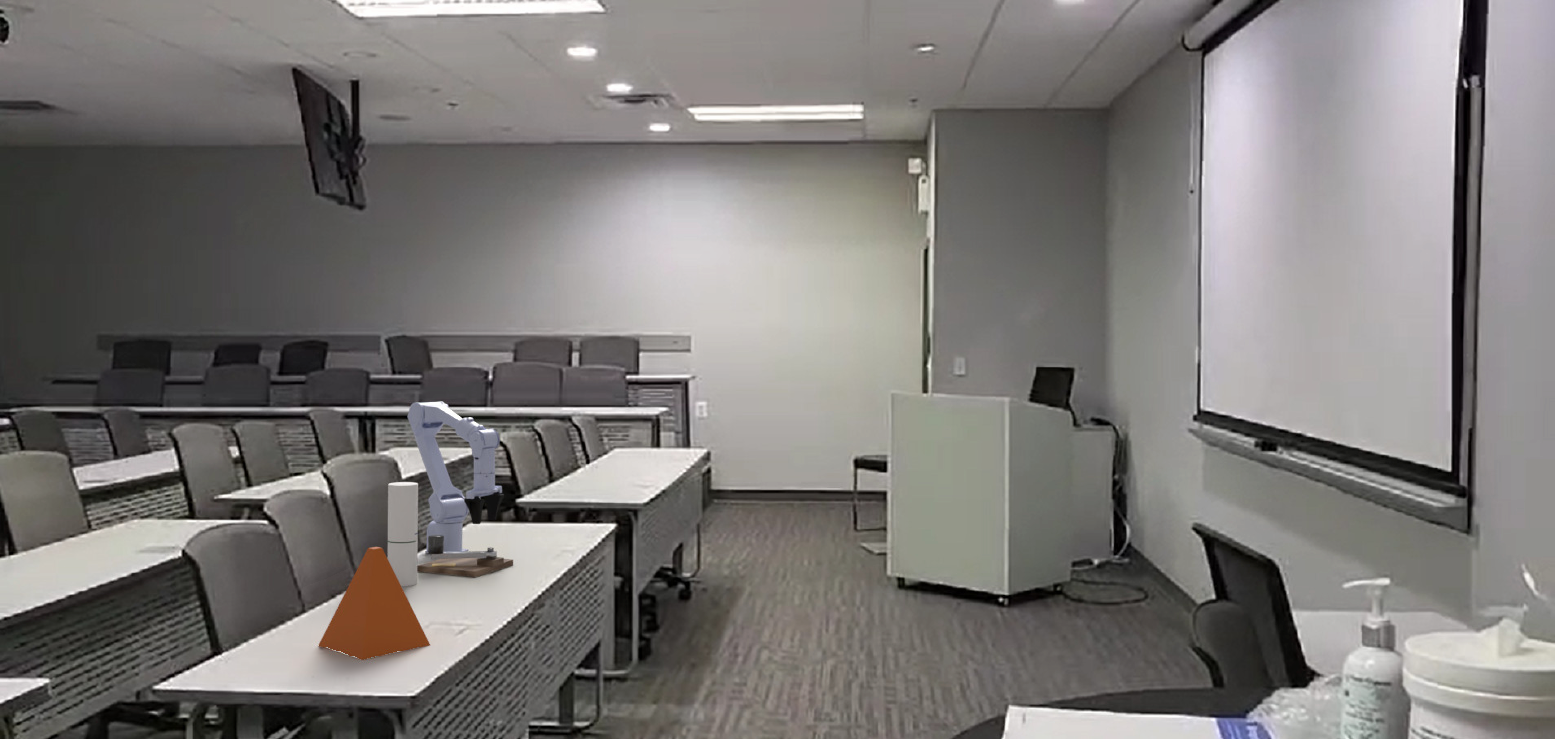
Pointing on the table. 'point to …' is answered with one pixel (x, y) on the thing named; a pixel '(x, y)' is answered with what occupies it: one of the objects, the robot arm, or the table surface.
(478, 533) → the table surface
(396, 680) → the table surface
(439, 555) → the lever
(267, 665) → the table surface
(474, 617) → the table surface
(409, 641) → the pyramid
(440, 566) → the cracker board
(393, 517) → the cylindrical container
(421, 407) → the robot arm
